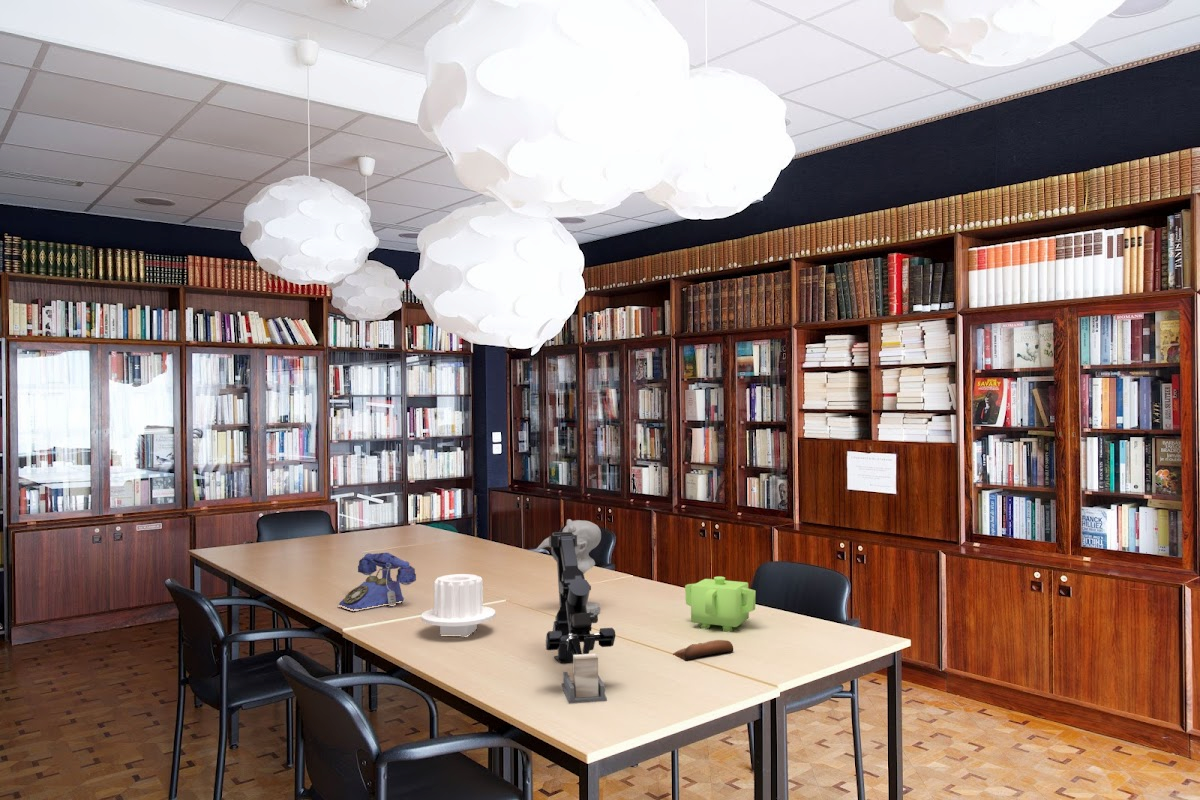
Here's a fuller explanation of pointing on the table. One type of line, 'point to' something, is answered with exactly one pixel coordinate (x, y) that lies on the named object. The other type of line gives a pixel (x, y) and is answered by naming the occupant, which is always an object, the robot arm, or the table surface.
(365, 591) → the rotary telephone
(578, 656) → the cream block
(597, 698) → the gray chute
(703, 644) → the brown elongated lump
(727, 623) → the storage box
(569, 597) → the robot arm
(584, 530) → the bust sculpture
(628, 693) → the table surface
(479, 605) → the flanged gear
